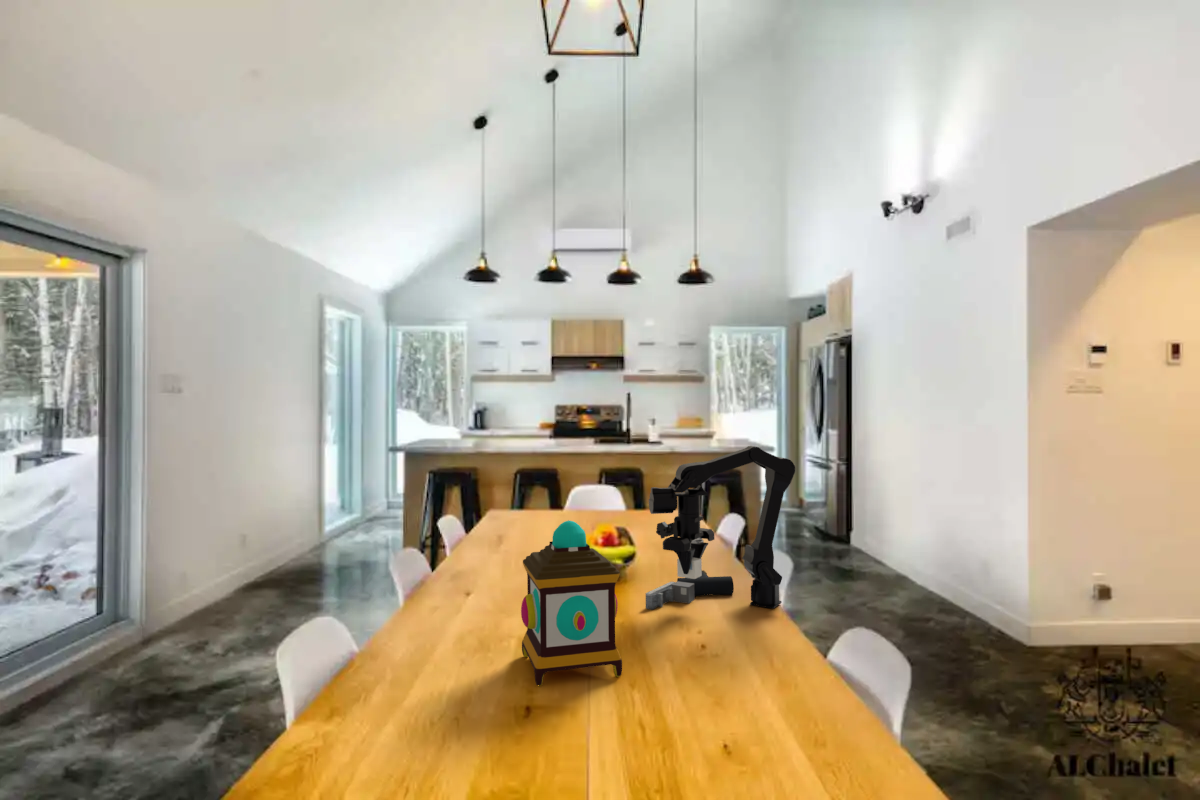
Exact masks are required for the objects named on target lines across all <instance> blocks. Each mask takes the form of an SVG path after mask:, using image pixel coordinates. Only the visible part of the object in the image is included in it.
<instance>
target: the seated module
mask: <svg viewBox="0 0 1200 800" xmlns="http://www.w3.org/2000/svg"><path fill="white" fill-rule="evenodd" d="M674 582H675V583H674V584H672V588H674V601H673V602H677V603H684V604H690V603H692V602H693V601H695V597H696V596H695V593H694V583H687V582H679V581H677V580H676V581H674Z"/></svg>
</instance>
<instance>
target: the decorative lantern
mask: <svg viewBox="0 0 1200 800" xmlns="http://www.w3.org/2000/svg"><path fill="white" fill-rule="evenodd" d="M522 566H523V568H524V570H525V572H526V573H527V574H526V575H527V576H526V579H527V594H526V595H525V596H524V597H523V600H522V602H521V608H520V615H521V621H522V623H523V625H524V626H525V627H526V628H527V629H526V632H525V634H524V636H523V637H522V638H523V639H522V641H521V653H522V656H523V657H524V658H528V659H529V661H530V663H531V666H532V667H533V672H534V680H535V684H536V686H537V685H539V686H538V687H541V686H542V685H543V682H544V675H545V674H546V673H549V672H557V671H565V670H566V671H567V670H575V669H584V668H590V667H591V668H593V667H600V666H601V667H602V666H611V665H612V667H613V674H614V676H615V677H616V678H619V677H621V675H622V673H623V672H622V671H623V660H622V657H621V654H620V652H619V650H618V648H617V645H616V617H617V614H618V598H617V595H616V585H617V582H618V580H619V577H620V575H621V573H620V570H618V569H617V567H616V566H615V565H614V564H612V563H611V561H609V560H608V559H607V558H606V557H605V556H603V555H602V554H601V553H599V552H598V551H597V550H596V549H594V548H591V547H590V545H589V544H588V543H587V536H586V532H585V530H584V529H583V528H582V527H581V525H579V524H578V523H577V522H575V521H573V520H569V519H568V520H565V521H563V522H562V523H561V524H559V525H558V526H557V528H556V529H555V530H554V531H553V533H552V541H549V545H548V544H547V545H545V546H544V548H542V549H540V551H533V552H531V553H530V555H527V556H526V557H525V559H522ZM540 685H541V686H540Z"/></svg>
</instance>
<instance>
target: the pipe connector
mask: <svg viewBox="0 0 1200 800" xmlns="http://www.w3.org/2000/svg"><path fill="white" fill-rule="evenodd" d="M677 581H679V582H687V583H694V593H695V597H696V596H697V597H698V596H719V595H720V596H721V595H733V594H734V588H735V587H734V579H733V577H732V576H729V575H728V576H725V575H724V576H708V573H707V572H706V571H705V570H703V569H702V576H700V577H698V578H696V579H691V578H685V577H678V578H677V579H676V582H677Z"/></svg>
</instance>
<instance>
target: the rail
mask: <svg viewBox="0 0 1200 800" xmlns="http://www.w3.org/2000/svg"><path fill="white" fill-rule="evenodd" d="M675 582H676V581H668V582H666V583H664V584H662V585H661V586H659V587H657V588H655V589H652V590H650V591H648V592H646V593H645V610H646V609H647V610H651V611H652V610H656V609H657V608H663V607H664V605H665V604H666V603H668V602H671V603H672V602H675V601H674V588H672V584H674V583H675Z"/></svg>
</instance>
